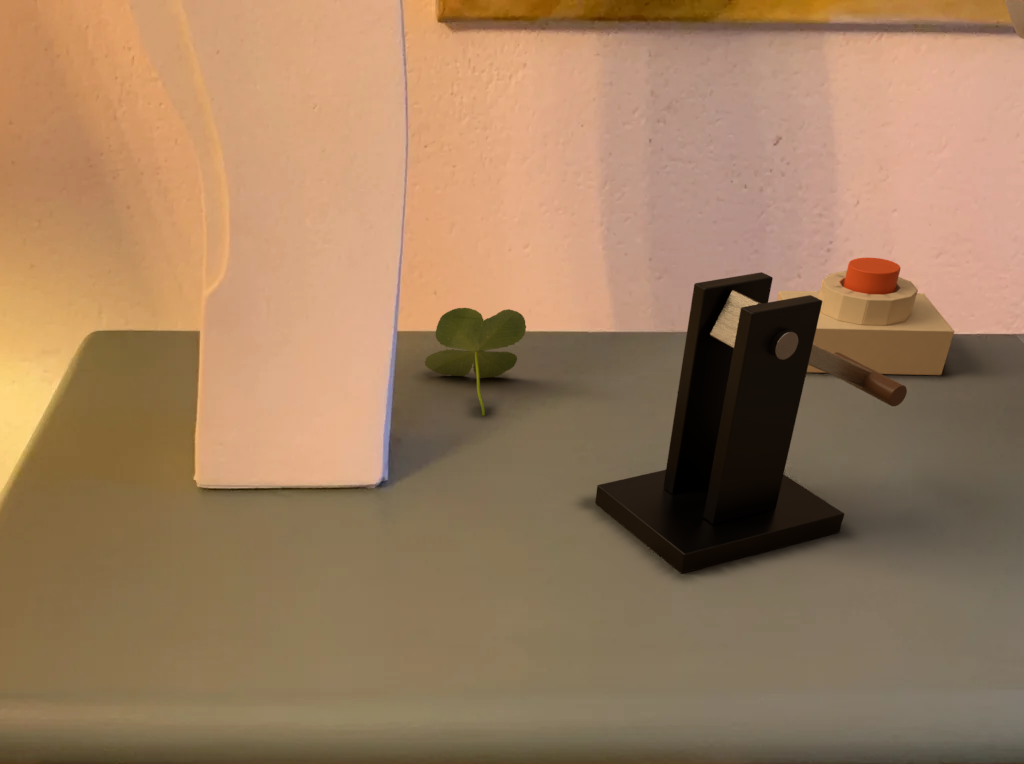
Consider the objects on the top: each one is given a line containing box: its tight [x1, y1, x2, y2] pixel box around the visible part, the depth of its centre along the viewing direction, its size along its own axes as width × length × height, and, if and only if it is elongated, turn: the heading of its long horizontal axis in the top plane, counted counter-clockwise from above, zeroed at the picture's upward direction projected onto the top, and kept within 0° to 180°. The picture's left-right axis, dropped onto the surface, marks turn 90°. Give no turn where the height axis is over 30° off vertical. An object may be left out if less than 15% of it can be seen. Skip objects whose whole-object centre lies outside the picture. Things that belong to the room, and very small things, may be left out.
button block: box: [776, 270, 955, 376], centre depth 85 cm, size 11×8×5 cm
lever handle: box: [710, 290, 908, 407], centre depth 63 cm, size 12×6×2 cm, turn 115°
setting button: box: [843, 257, 901, 295], centre depth 83 cm, size 4×4×2 cm
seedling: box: [424, 307, 527, 417], centre depth 80 cm, size 7×8×7 cm
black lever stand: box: [595, 271, 845, 574], centre depth 63 cm, size 11×9×13 cm
